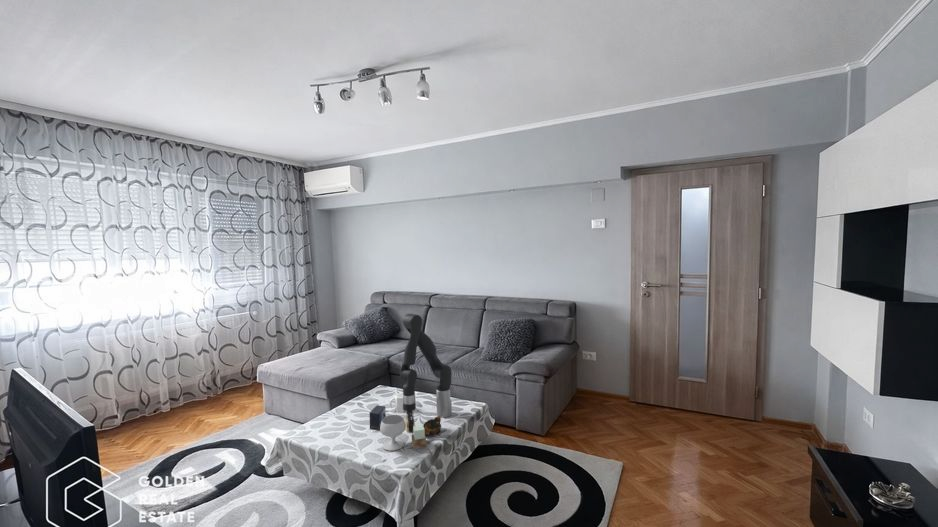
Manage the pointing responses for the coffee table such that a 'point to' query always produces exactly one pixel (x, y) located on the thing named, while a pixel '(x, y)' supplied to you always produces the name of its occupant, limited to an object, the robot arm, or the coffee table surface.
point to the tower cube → (418, 432)
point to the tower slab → (418, 442)
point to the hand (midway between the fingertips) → (410, 428)
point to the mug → (398, 402)
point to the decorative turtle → (432, 426)
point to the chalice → (393, 431)
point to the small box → (377, 417)
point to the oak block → (408, 425)
